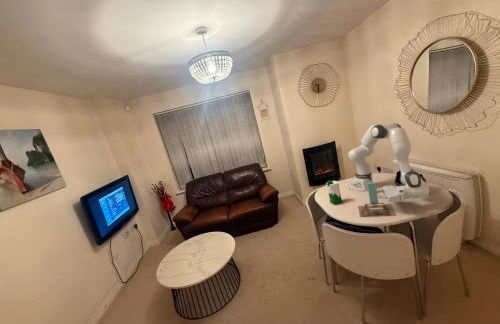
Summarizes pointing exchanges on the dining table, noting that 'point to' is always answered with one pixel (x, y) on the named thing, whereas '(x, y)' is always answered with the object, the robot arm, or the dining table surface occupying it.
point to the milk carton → (334, 192)
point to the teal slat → (372, 193)
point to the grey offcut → (376, 209)
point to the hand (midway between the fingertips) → (377, 194)
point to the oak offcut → (375, 206)
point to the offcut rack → (386, 211)
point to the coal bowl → (397, 180)
